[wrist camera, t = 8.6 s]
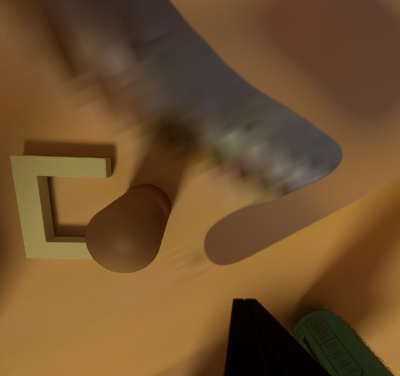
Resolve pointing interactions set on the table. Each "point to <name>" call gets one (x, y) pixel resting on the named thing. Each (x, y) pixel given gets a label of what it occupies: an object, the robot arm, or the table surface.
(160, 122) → the table surface
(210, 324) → the table surface
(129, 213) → the brown piece
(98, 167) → the bracket
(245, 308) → the robot arm
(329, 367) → the beverage bottle
